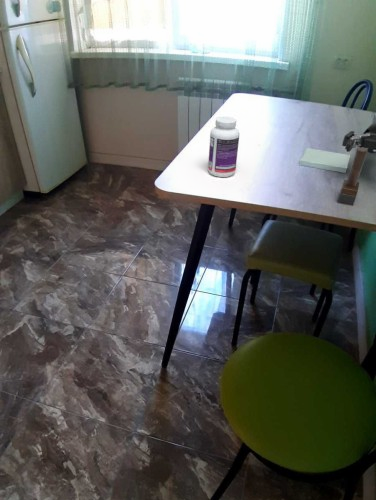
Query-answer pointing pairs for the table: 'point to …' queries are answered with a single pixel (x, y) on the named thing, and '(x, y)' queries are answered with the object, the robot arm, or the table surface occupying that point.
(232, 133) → the pill bottle
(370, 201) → the table surface
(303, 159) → the tile
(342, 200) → the brush
